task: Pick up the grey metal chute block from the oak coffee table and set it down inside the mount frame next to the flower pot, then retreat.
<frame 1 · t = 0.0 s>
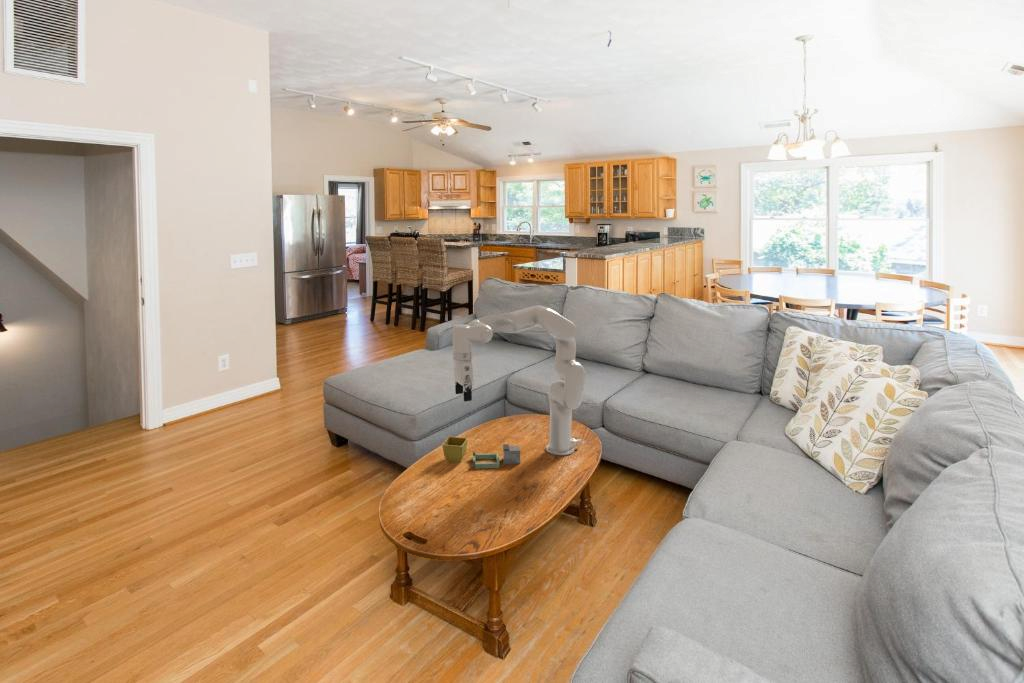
hand: (463, 397, 228), 31 cm above the table, fingers open, 9 cm apart
mount frame: (486, 463, 241), on the table
flower pot: (455, 461, 243), on the table
chute block: (511, 461, 243), on the table
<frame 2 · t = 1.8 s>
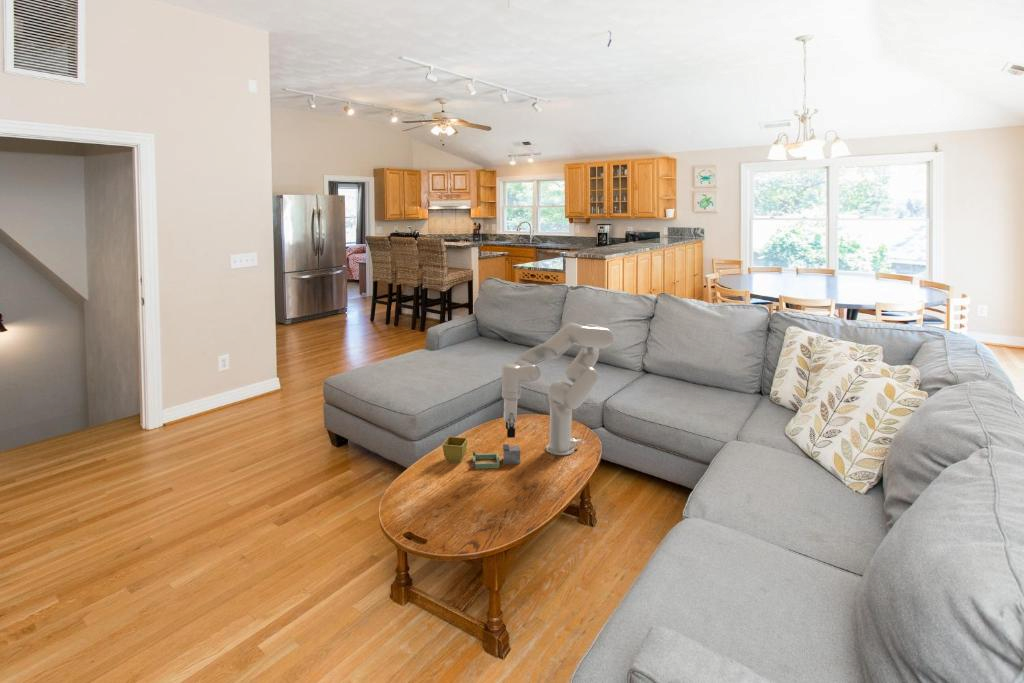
hand: (510, 432, 239), 13 cm above the table, fingers open, 9 cm apart
nothing on the table moved.
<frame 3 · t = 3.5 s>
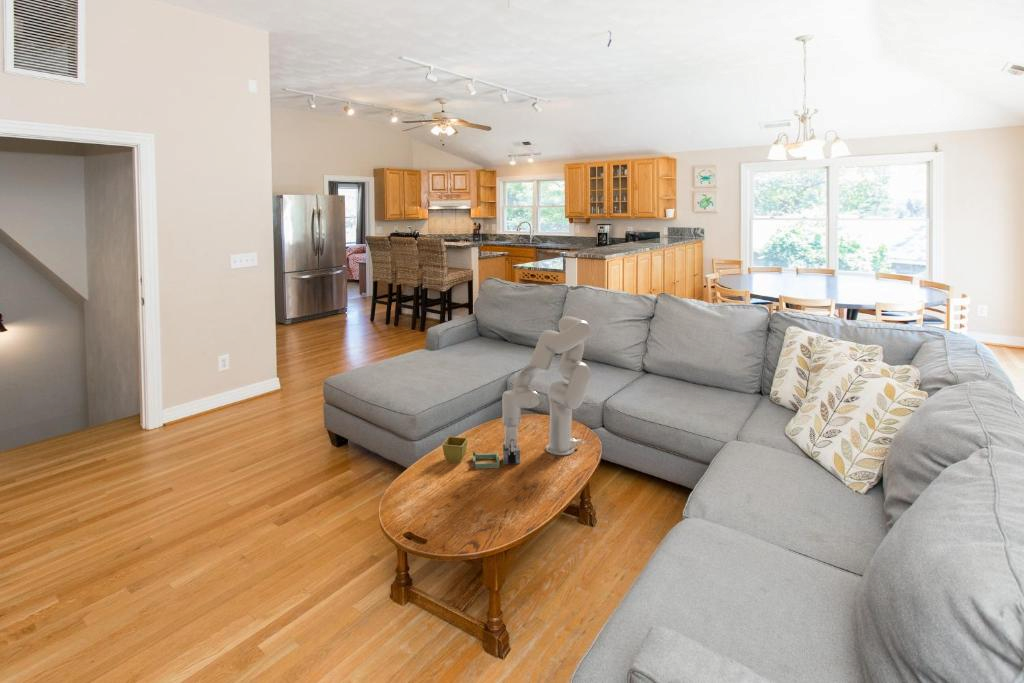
hand: (511, 459, 242), 1 cm above the table, fingers closed on chute block, 5 cm apart
chute block: (511, 461, 243), on the table, touching gripper
everything else where it was.
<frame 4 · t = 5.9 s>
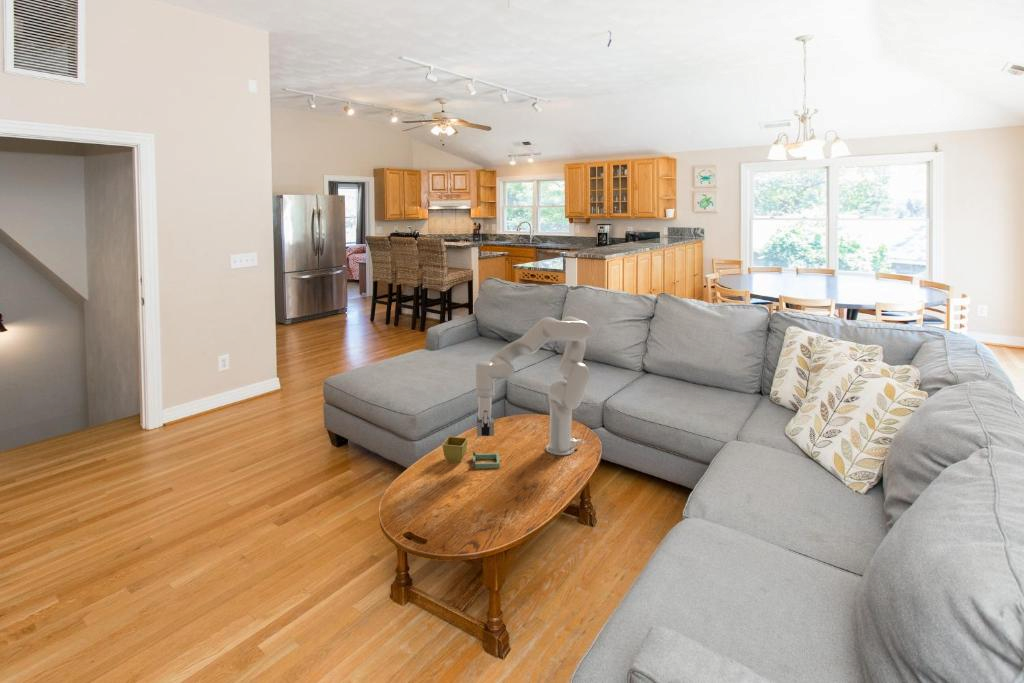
hand: (485, 432, 238), 14 cm above the table, fingers closed on chute block, 5 cm apart
chute block: (485, 433, 238), point 13 cm above the table, touching gripper
everything else where it was.
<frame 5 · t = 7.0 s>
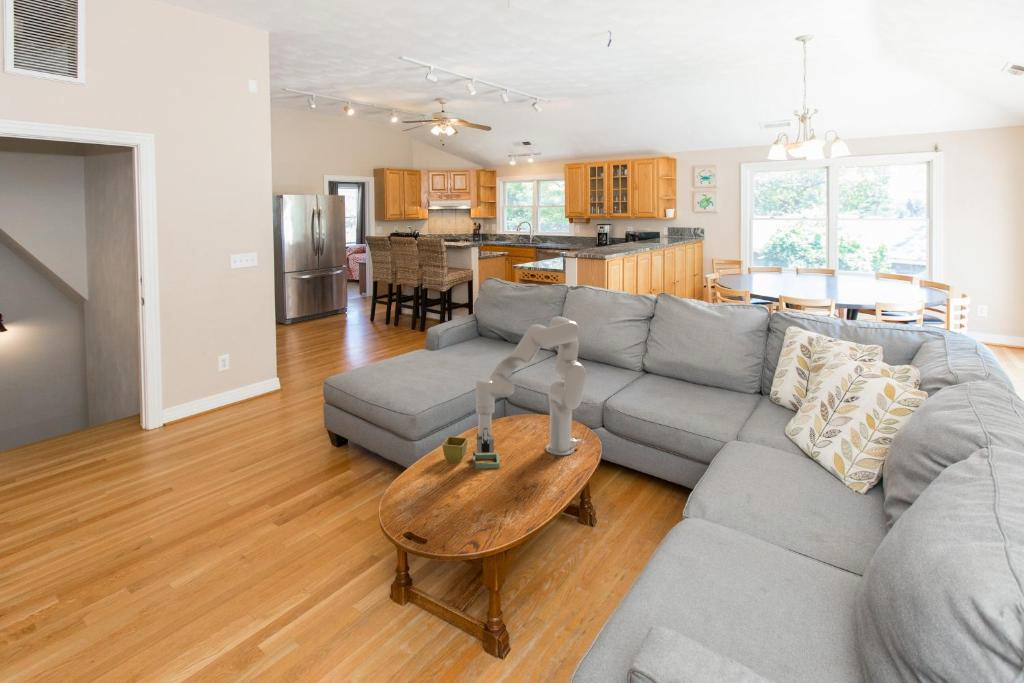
hand: (485, 449, 239), 6 cm above the table, fingers closed on chute block, 5 cm apart
chute block: (485, 450, 240), point 6 cm above the table, touching gripper
everything else where it was.
when the fingers open (2 cm above the table, at t = 8.2 s): chute block drops 2 cm, resting in mount frame.
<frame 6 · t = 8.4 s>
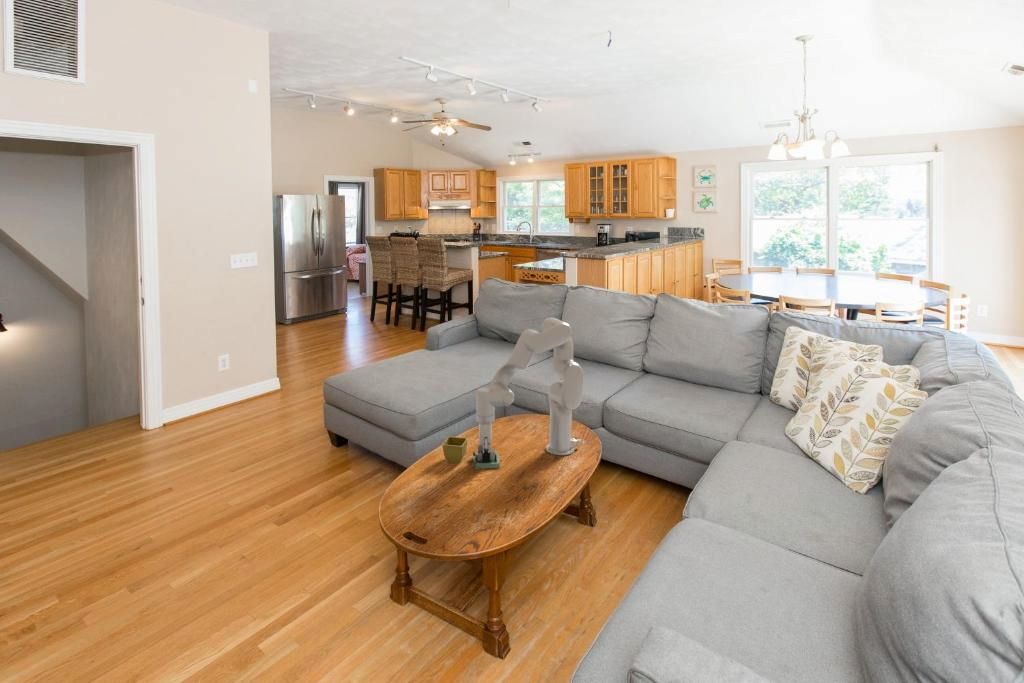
hand: (486, 457, 240), 3 cm above the table, fingers open, 6 cm apart
chute block: (486, 463, 241), resting in mount frame
everything else where it was.
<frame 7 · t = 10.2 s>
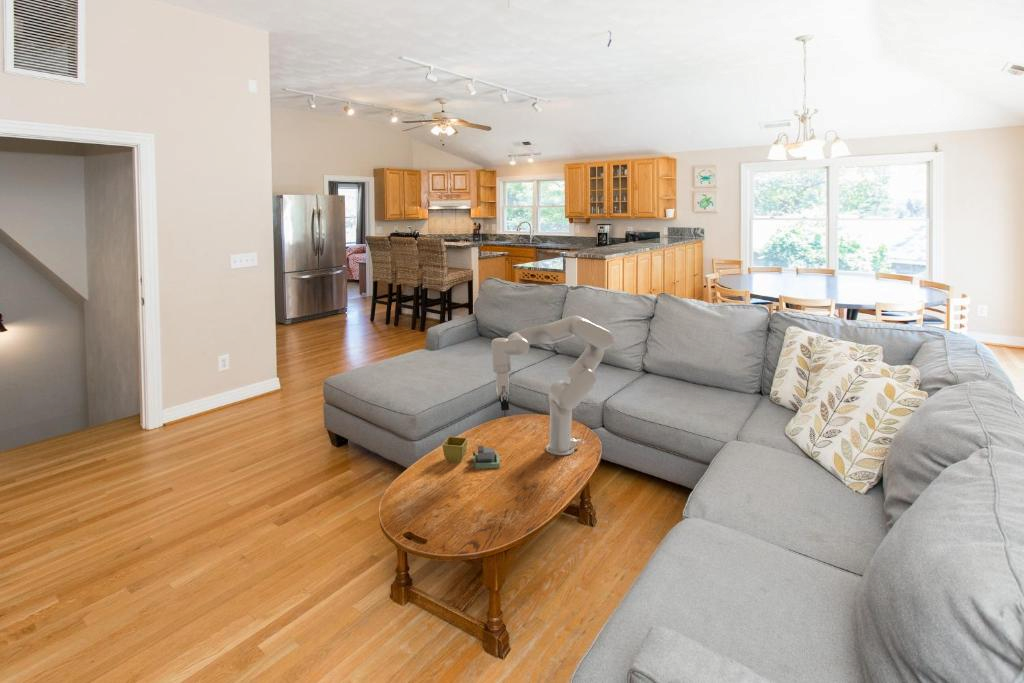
hand: (504, 405, 242), 23 cm above the table, fingers open, 9 cm apart
nothing on the table moved.
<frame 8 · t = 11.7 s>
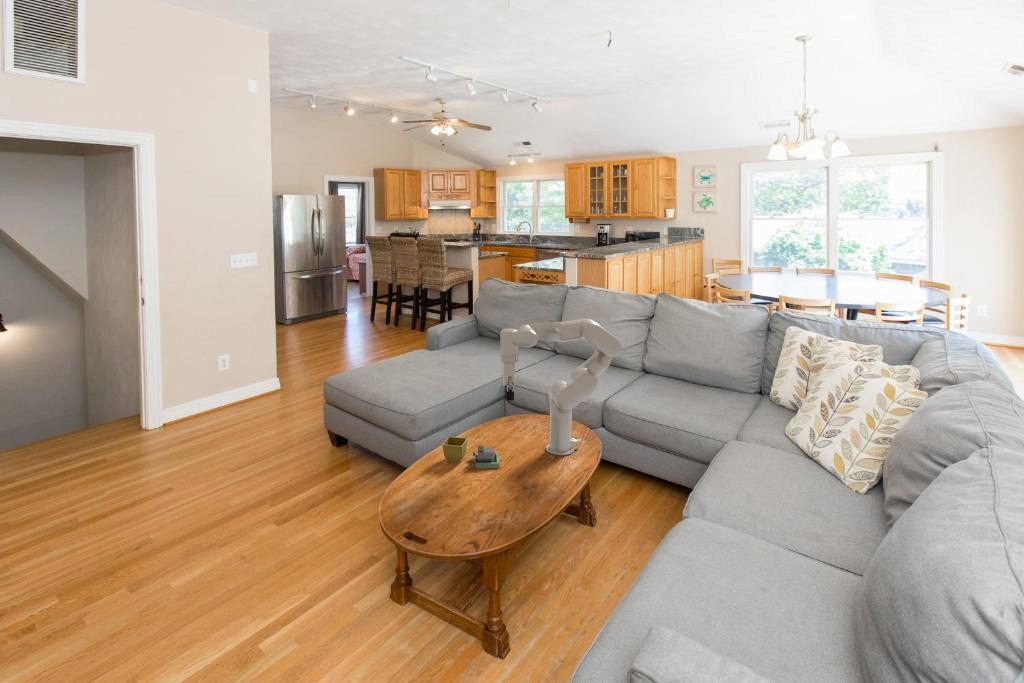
hand: (509, 396, 244), 26 cm above the table, fingers open, 9 cm apart
nothing on the table moved.
at the end: chute block 0.1 cm off-centre on the mount frame, point 0.0 cm above the mount frame's base; chute block tilted 0°; the gripper is holding nothing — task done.
